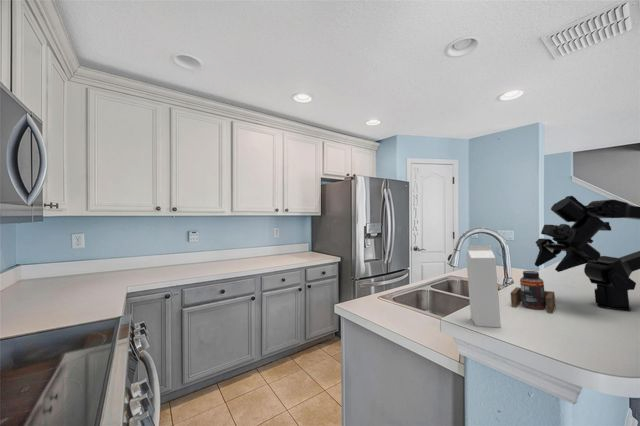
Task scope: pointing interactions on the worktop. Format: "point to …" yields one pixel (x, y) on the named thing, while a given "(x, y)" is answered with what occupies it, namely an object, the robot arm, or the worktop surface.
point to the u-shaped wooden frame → (549, 299)
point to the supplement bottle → (532, 290)
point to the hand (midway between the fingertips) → (545, 268)
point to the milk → (483, 286)
